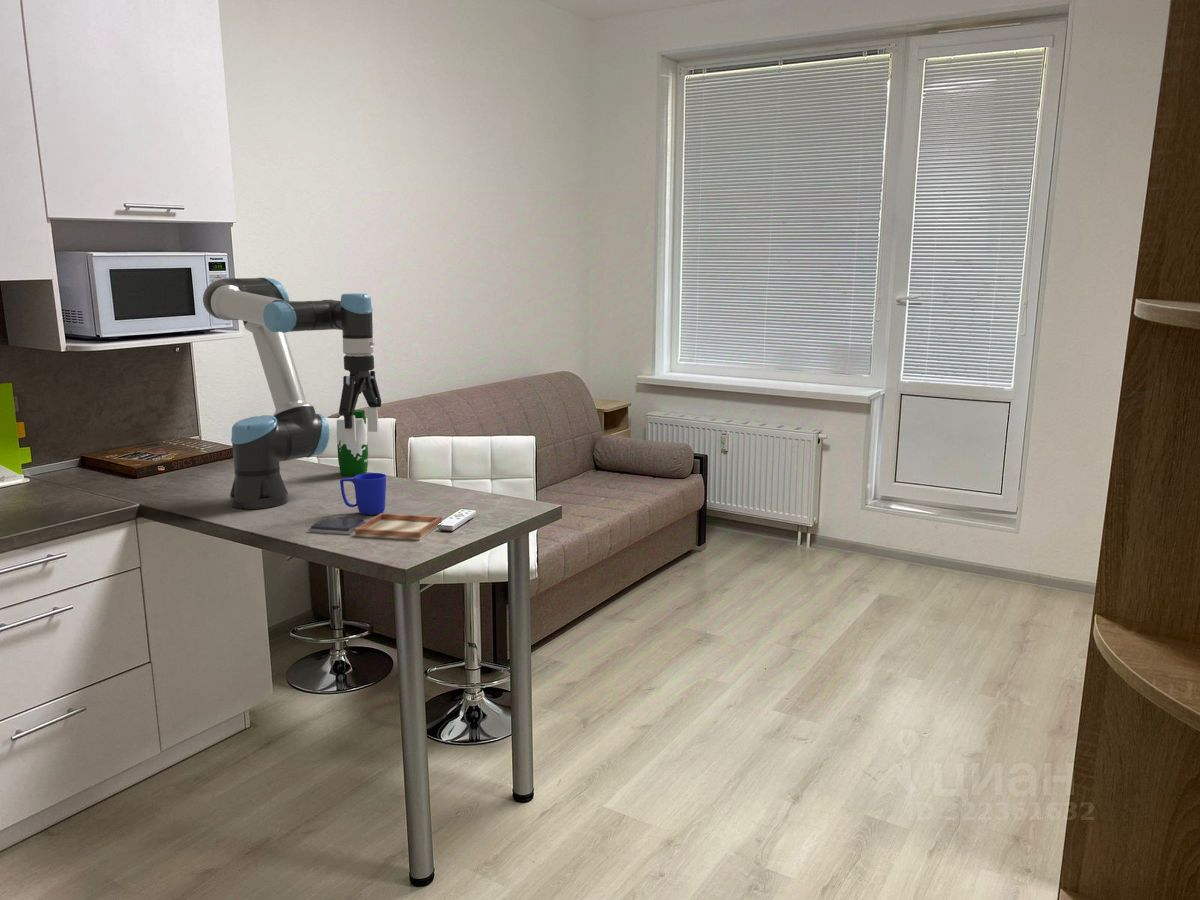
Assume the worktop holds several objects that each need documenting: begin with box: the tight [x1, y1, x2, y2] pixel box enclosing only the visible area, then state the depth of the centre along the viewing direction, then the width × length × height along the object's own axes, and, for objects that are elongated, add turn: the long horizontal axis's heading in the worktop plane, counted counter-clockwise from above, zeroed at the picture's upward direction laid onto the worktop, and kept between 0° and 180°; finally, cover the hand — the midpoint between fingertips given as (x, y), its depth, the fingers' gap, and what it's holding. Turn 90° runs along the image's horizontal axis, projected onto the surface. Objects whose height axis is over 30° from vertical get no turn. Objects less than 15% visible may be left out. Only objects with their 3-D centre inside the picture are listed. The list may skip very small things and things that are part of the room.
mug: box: [339, 472, 387, 516], centre depth 240 cm, size 8×12×10 cm
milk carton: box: [336, 409, 369, 477], centre depth 285 cm, size 9×9×20 cm
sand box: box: [354, 512, 443, 541], centre depth 225 cm, size 17×15×2 cm
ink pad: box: [308, 517, 366, 535], centre depth 227 cm, size 11×9×1 cm
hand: (362, 436), depth 237 cm, fingers open, 13 cm apart
